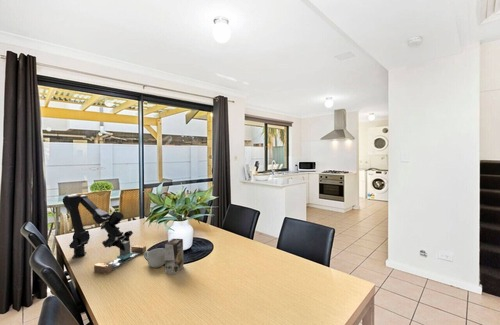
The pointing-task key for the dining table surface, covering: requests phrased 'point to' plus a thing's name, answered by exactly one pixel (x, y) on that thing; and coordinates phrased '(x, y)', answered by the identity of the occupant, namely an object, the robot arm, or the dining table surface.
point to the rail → (119, 261)
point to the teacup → (155, 257)
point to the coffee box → (173, 256)
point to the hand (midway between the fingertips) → (127, 249)
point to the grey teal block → (125, 251)
